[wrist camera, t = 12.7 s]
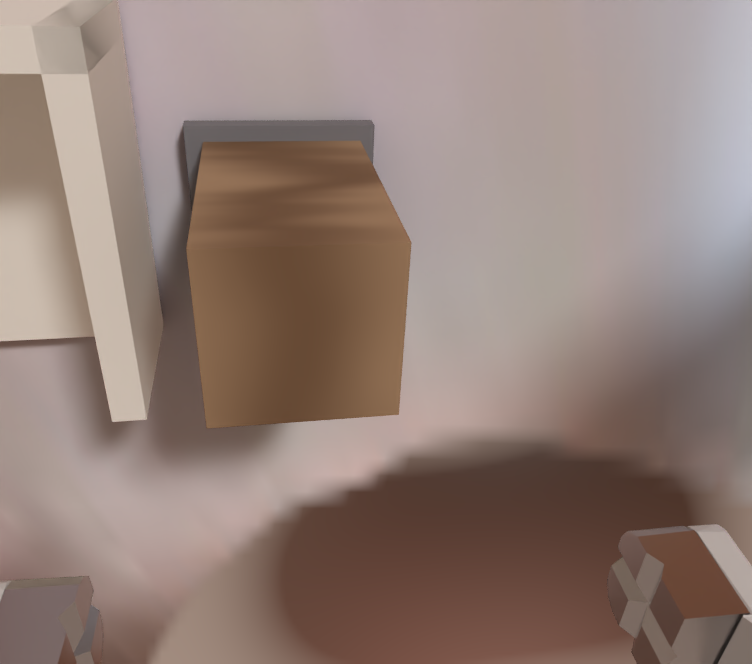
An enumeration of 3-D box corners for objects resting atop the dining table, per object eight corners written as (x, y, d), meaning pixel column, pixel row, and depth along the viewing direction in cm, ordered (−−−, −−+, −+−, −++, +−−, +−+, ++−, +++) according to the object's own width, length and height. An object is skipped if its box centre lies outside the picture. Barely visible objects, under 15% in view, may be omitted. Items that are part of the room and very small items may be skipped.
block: (360, 140, 22) (411, 242, 16) (356, 277, 25) (398, 414, 18) (202, 141, 22) (186, 249, 15) (215, 283, 24) (206, 428, 18)
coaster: (371, 120, 23) (374, 125, 22) (365, 281, 26) (367, 289, 25) (184, 120, 22) (183, 125, 21) (201, 288, 25) (200, 296, 24)
